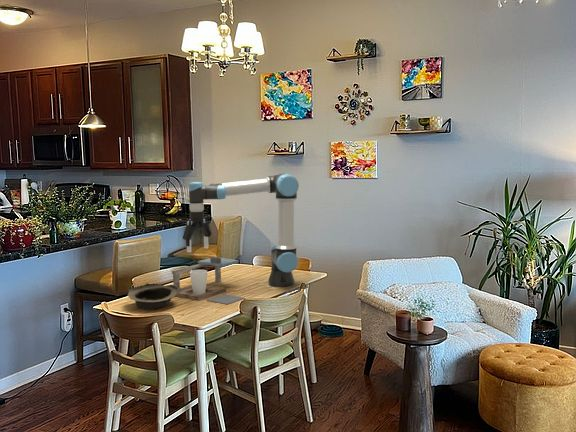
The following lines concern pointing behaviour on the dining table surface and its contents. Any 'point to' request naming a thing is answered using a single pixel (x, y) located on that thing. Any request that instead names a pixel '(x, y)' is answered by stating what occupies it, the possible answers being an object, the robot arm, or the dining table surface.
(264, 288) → the dining table surface
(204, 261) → the cover
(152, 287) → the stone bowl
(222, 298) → the rubber mat
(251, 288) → the dining table surface
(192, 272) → the foam cup
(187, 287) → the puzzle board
